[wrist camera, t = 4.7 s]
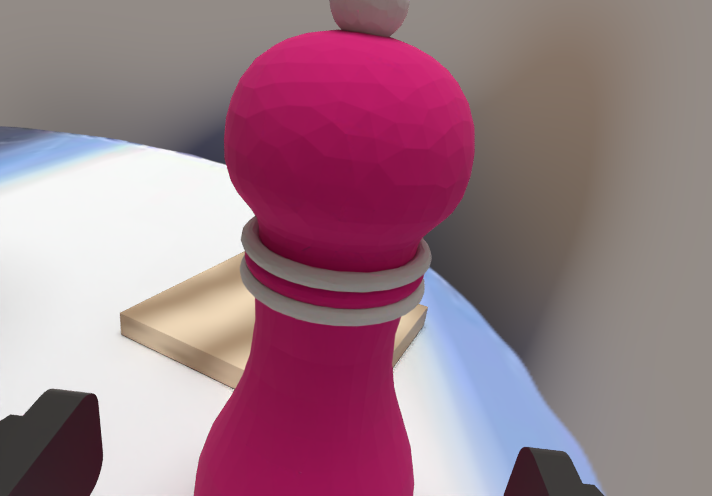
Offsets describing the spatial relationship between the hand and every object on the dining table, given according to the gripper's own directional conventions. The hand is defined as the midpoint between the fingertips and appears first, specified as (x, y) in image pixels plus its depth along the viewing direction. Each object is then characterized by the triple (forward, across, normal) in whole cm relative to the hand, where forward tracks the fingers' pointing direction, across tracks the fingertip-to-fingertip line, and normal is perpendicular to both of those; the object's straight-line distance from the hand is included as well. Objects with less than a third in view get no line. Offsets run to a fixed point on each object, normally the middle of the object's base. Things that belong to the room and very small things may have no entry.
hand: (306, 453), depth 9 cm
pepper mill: (+5, 0, +11) cm, 12 cm away
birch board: (+21, +3, +11) cm, 24 cm away
